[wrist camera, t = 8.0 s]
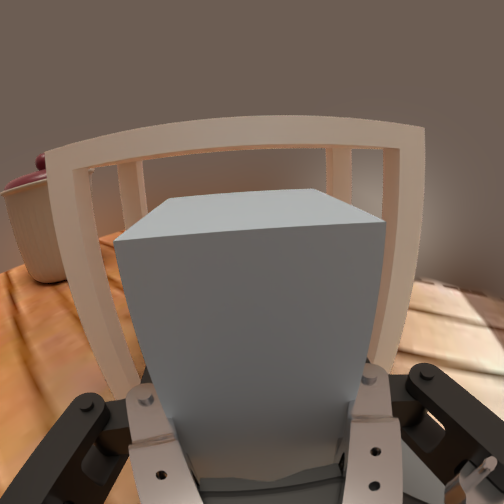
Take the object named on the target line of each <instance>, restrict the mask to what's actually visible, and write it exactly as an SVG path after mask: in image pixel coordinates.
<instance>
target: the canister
mask: <svg viewBox="0 0 504 504" xmlns="http://www.w3.org/2000/svg"><path fill="white" fill-rule="evenodd" d="M35 165H36V167H37V169H38V170H39V171H36V172H33V173H30V174H27V175H24V176H21V177H19V178H17V179H14V180H13V181H11V182H9V183H8V184H7V185H6V186H5V189H4V191H3V192H1V193H0V195H1V196H3V197H4V199H5V204H6V208H7V212H8V216H9V219H10V223H11V226H12V229H13V233H14V236H15V239H16V242H17V245H18V248H19V250H20V253H21V256H22V258H23V261H24V263H25V265H26V268H27V270H28V272H29V273H30V275H31V276H32V277H33V278H34V279H35V280H37V281H38V282H42V283H52V282H59V281H63V280H66V279H67V277H66V274H65V270H64V266H63V262H62V258H61V254H60V250H59V246H58V241H57V237H56V232H55V227H54V222H53V216H52V211H51V205H50V198H49V191H48V183H47V174H46V164H45V153H42V154H40V155H39V156H37V158H36V160H35ZM94 171H95V170H94V169H90V168H89V169H88V174H89V182H90V191H91V198H92V177H91V175H92V173H94Z"/></svg>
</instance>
